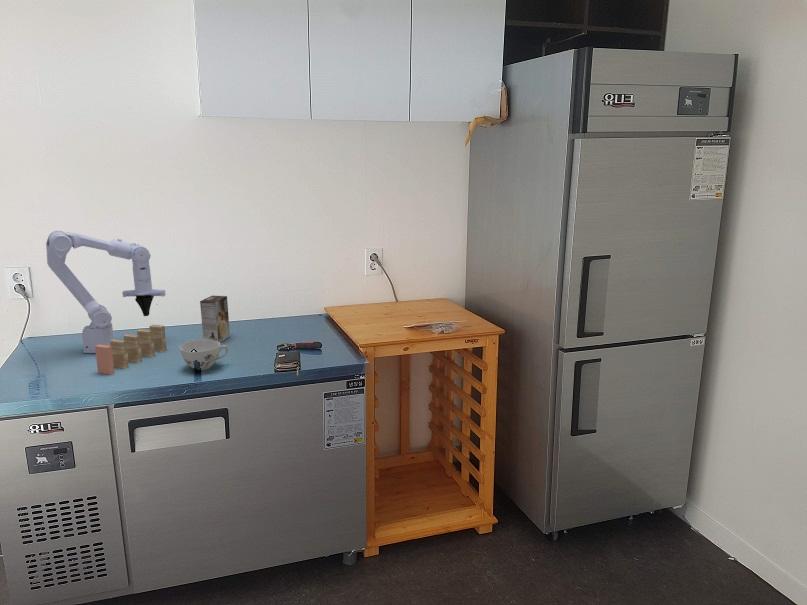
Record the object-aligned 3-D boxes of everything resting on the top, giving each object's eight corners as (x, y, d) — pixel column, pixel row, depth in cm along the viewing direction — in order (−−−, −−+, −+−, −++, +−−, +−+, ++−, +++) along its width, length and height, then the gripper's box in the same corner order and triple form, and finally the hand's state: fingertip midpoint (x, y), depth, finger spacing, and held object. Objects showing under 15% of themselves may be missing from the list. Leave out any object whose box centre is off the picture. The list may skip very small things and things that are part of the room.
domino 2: (138, 362, 208) (135, 337, 206) (126, 360, 210) (123, 335, 207) (142, 360, 210) (139, 335, 207) (130, 359, 211) (127, 333, 209)
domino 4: (163, 351, 219) (160, 327, 217) (151, 350, 221) (149, 325, 218) (166, 350, 221) (164, 326, 218) (155, 348, 222) (153, 324, 220)
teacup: (183, 376, 196) (181, 352, 194) (179, 364, 207) (177, 341, 205) (232, 370, 202) (230, 346, 200) (226, 358, 213) (224, 336, 211)
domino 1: (124, 368, 203) (121, 342, 200) (112, 366, 204) (109, 340, 202) (128, 366, 204) (125, 340, 202) (116, 364, 206) (113, 339, 204)
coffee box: (215, 335, 238) (212, 294, 234) (230, 336, 236) (227, 295, 232) (202, 343, 229) (199, 300, 225) (218, 344, 228) (215, 301, 224)
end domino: (110, 374, 197) (106, 347, 195) (98, 372, 199) (94, 346, 197) (114, 372, 199) (111, 346, 196) (102, 370, 200) (99, 344, 198)
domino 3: (151, 357, 213) (148, 332, 211) (139, 355, 215) (136, 330, 213) (154, 355, 215) (152, 330, 213) (143, 353, 217) (140, 329, 215)
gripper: (117, 281, 218) (121, 318, 222) (159, 281, 219) (163, 318, 223) (124, 277, 225) (129, 313, 228) (165, 276, 226) (169, 312, 229)
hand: (146, 315), depth 226 cm, fingers closed
